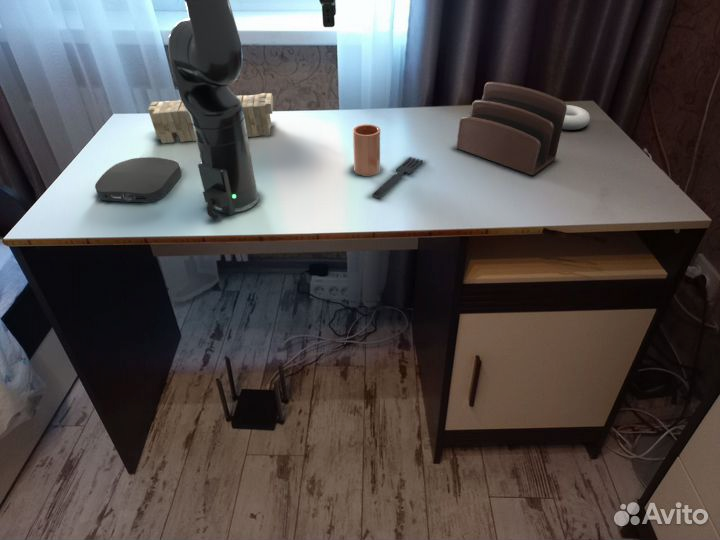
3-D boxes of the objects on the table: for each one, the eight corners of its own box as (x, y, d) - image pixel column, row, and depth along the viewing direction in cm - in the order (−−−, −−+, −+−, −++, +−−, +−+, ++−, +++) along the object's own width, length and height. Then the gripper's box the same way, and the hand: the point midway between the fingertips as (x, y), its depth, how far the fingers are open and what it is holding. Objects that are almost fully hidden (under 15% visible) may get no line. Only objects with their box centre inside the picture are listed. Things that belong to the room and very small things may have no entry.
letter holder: (479, 135, 123) (487, 76, 114) (555, 160, 112) (571, 97, 103) (455, 149, 117) (461, 88, 108) (532, 177, 106) (547, 112, 97)
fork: (383, 200, 101) (383, 197, 100) (368, 195, 102) (368, 193, 102) (423, 162, 112) (423, 160, 112) (409, 159, 114) (409, 156, 113)
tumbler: (371, 178, 107) (371, 138, 102) (349, 172, 110) (347, 132, 104) (384, 167, 111) (385, 127, 105) (362, 161, 113) (362, 122, 108)
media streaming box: (187, 169, 112) (184, 157, 110) (159, 205, 101) (155, 192, 99) (125, 167, 114) (121, 154, 112) (91, 201, 103) (86, 188, 101)
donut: (596, 126, 125) (565, 112, 132) (600, 113, 123) (568, 99, 130) (567, 136, 121) (537, 121, 128) (571, 122, 119) (540, 107, 126)
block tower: (156, 147, 123) (276, 135, 125) (145, 114, 118) (270, 102, 119) (162, 133, 129) (276, 122, 131) (152, 101, 124) (271, 89, 125)
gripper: (306, -83, 94) (313, 12, 105) (299, -74, 84) (308, 31, 94) (346, -84, 94) (349, 11, 105) (345, -75, 83) (348, 30, 94)
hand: (329, 20), depth 99 cm, fingers open, 8 cm apart
